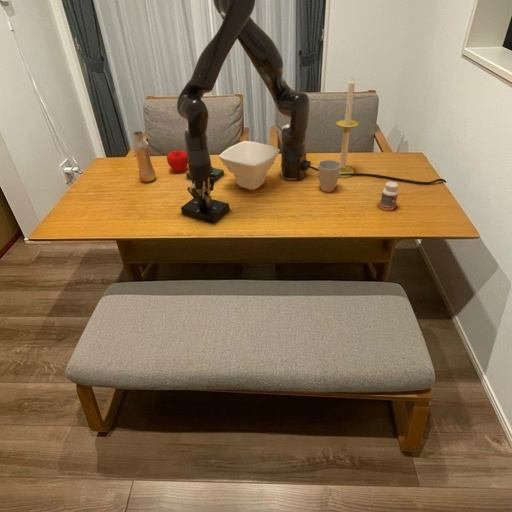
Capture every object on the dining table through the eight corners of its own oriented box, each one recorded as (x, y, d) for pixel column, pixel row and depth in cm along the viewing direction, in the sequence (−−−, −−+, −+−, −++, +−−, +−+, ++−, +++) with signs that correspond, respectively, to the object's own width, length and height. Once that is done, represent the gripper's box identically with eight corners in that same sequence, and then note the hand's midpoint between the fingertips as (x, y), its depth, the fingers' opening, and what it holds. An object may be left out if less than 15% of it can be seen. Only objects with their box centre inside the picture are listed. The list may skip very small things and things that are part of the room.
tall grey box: (212, 206, 137) (211, 195, 134) (209, 208, 135) (208, 197, 133) (200, 202, 139) (198, 192, 136) (197, 204, 138) (195, 194, 135)
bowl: (245, 170, 164) (243, 139, 156) (284, 181, 155) (284, 148, 147) (217, 188, 153) (213, 155, 144) (257, 202, 144) (256, 167, 135)
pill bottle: (392, 211, 135) (397, 189, 129) (377, 208, 137) (381, 185, 132) (396, 205, 138) (401, 182, 133) (382, 201, 141) (386, 179, 135)
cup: (340, 185, 151) (343, 161, 145) (334, 195, 145) (337, 170, 139) (320, 182, 154) (322, 158, 148) (314, 191, 148) (315, 167, 142)
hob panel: (229, 210, 140) (229, 203, 138) (213, 224, 133) (213, 216, 131) (198, 201, 145) (197, 194, 143) (182, 214, 139) (180, 207, 137)
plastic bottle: (158, 176, 163) (148, 129, 151) (153, 183, 158) (142, 136, 146) (143, 176, 164) (132, 129, 152) (138, 183, 159) (126, 136, 146)
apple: (173, 176, 163) (170, 159, 158) (166, 169, 169) (163, 152, 164) (193, 171, 166) (190, 154, 161) (185, 164, 172) (182, 147, 167)
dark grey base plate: (224, 174, 162) (223, 166, 160) (210, 184, 156) (209, 175, 153) (201, 169, 167) (200, 160, 165) (186, 178, 161) (185, 170, 158)
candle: (327, 167, 164) (335, 72, 141) (351, 166, 164) (363, 71, 141) (332, 178, 156) (341, 79, 133) (356, 176, 156) (370, 78, 133)
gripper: (195, 170, 120) (202, 217, 131) (220, 153, 130) (224, 199, 140) (176, 165, 123) (184, 212, 134) (202, 150, 133) (208, 194, 143)
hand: (205, 205), depth 137 cm, fingers closed on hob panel, 2 cm apart
